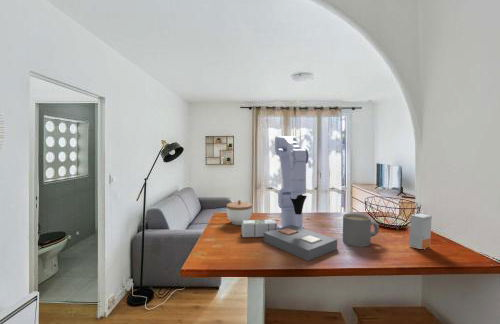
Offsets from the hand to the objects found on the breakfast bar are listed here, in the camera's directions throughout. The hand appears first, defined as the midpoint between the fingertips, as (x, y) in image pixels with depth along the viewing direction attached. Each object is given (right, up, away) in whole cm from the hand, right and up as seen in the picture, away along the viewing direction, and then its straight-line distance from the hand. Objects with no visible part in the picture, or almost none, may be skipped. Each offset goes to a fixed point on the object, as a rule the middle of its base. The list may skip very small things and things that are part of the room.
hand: (298, 214), depth 100 cm
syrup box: (-23, -7, +5) cm, 24 cm away
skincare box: (+43, -11, -7) cm, 45 cm away
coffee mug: (+24, -11, -2) cm, 26 cm away
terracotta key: (-4, -11, 0) cm, 11 cm away
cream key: (+3, -11, -9) cm, 14 cm away
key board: (-1, -11, -5) cm, 12 cm away
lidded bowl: (-24, -9, +24) cm, 35 cm away
